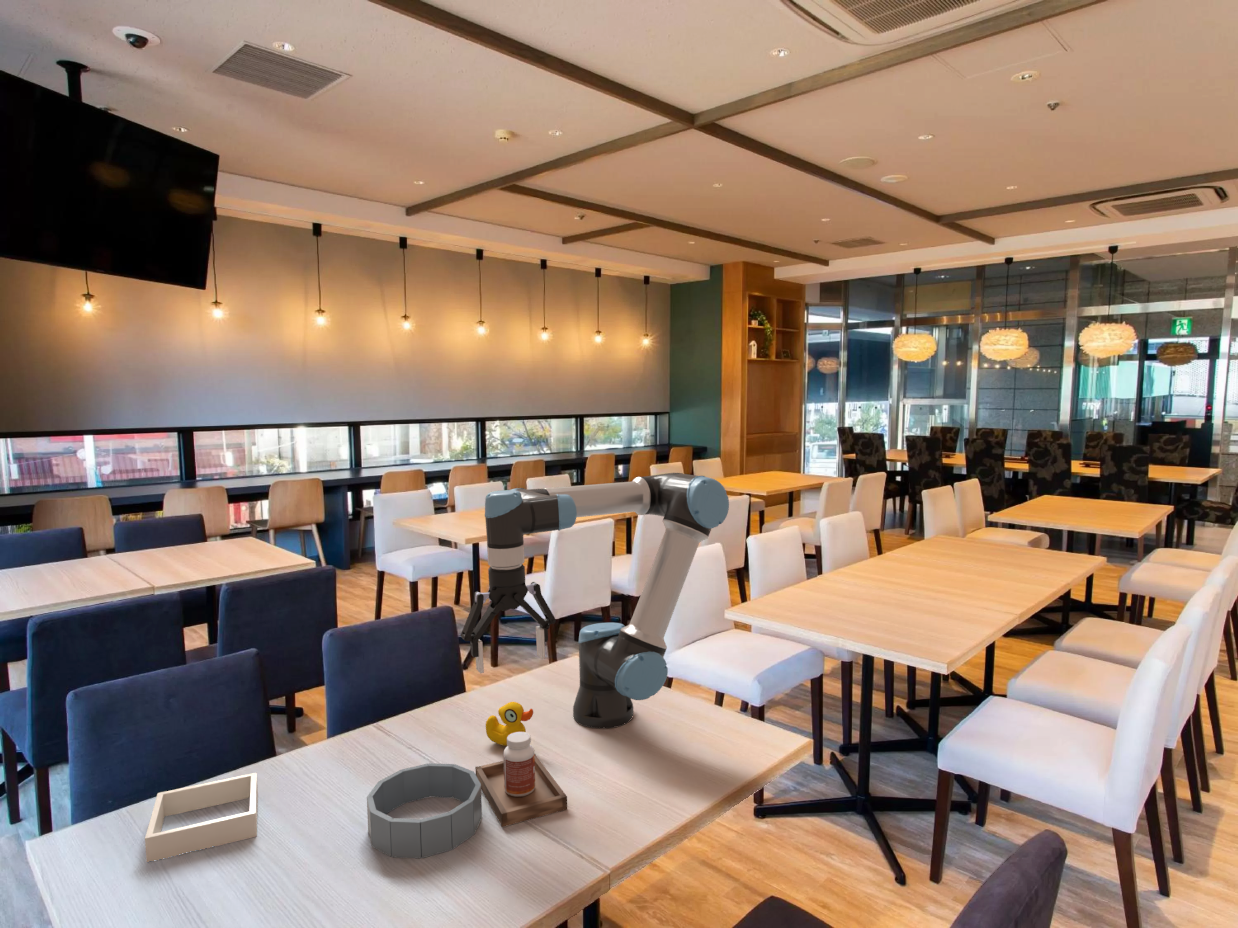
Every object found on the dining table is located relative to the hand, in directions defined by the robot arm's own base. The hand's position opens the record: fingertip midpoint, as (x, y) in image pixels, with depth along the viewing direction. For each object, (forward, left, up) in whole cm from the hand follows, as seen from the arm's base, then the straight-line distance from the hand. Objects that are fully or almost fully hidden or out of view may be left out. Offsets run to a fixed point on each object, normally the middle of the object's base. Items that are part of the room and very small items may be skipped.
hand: (511, 663), depth 152 cm
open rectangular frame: (+58, -7, -24) cm, 63 cm away
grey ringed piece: (+21, +11, -24) cm, 33 cm away
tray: (+2, +9, -24) cm, 25 cm away
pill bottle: (+2, +9, -23) cm, 25 cm away
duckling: (-3, -12, -24) cm, 27 cm away
